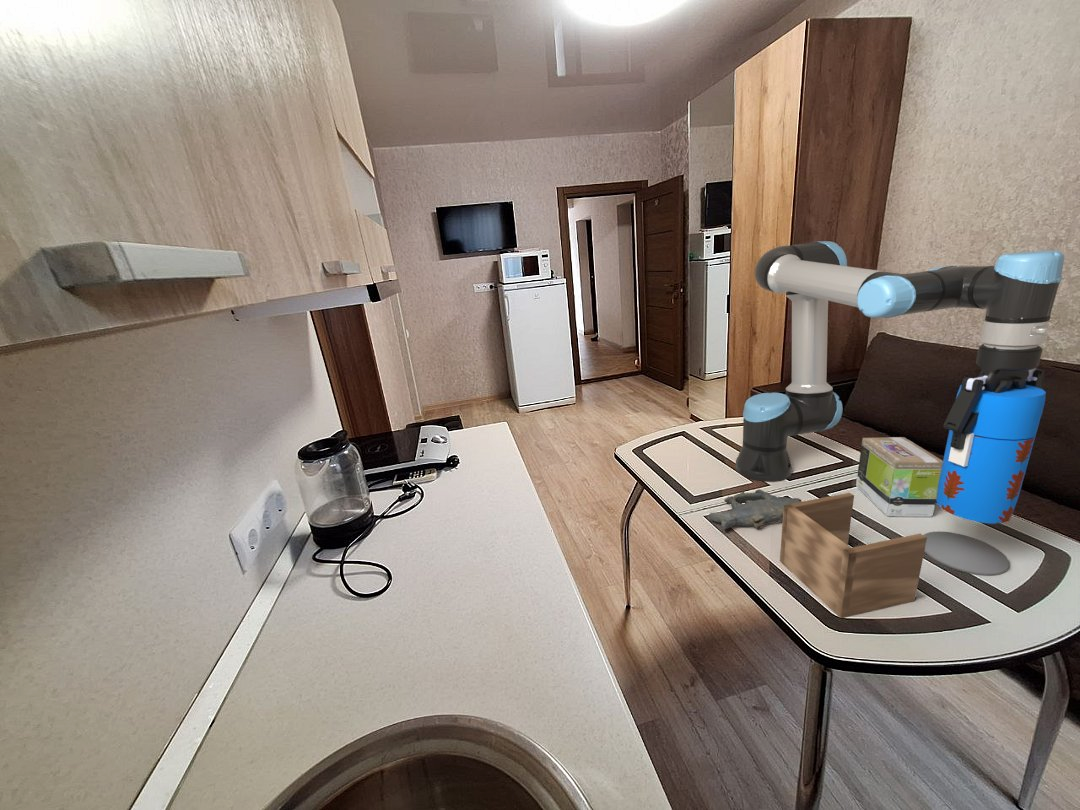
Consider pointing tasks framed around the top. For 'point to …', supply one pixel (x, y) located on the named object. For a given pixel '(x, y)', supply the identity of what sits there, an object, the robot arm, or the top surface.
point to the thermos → (993, 457)
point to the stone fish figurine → (752, 509)
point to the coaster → (965, 553)
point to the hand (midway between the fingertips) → (984, 458)
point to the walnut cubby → (847, 558)
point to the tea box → (899, 476)
